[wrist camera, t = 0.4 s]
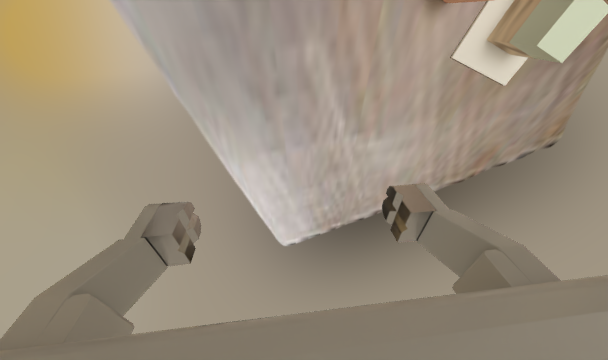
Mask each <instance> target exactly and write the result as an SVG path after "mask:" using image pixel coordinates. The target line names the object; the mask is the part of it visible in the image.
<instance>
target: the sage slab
mask: <svg viewBox="0 0 608 360" xmlns="http://www.w3.org/2000/svg"><path fill="white" fill-rule="evenodd" d="M607 13H608V5H607V4H606V3H605V2H604V1H603V0H541V1H540V2H539V4H538V5H537V6H536V8H535V9H534V10H533V12H532V13H531V14H530V16H529V17H528V18H527V20H526V21H525V22H524V24H523V25H522V26H521V27H520V29H519V30H518V31H517V33H516V34H515V35H514V37H513V38H512V39H511V41H510V42H509V43H511V44H512V45H514V46H515V47H517V48H518V49H520V50H521V51H523V52H525V53H526V54H528V55H529V56H531V57H532V58H534V59H540V60H547V61H553V62H559V63H562V62H563V61H564V60H565V59H566V58H567V57H568V56H569V55H570V54H571V52H572V51H573V50H574V49H575V48H576V47H577V46H578V45H579V44H580V43H581V42H582V41H583V39H584V38H585V37H586V36H587V35H588V34H589V33H590V32H591V31H592V30H593V29H594V27H595V26H596V25H597V24H598V23H599V22H600V21H601V20H602V19H603V18H604V17H605V15H606V14H607Z"/></svg>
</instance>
